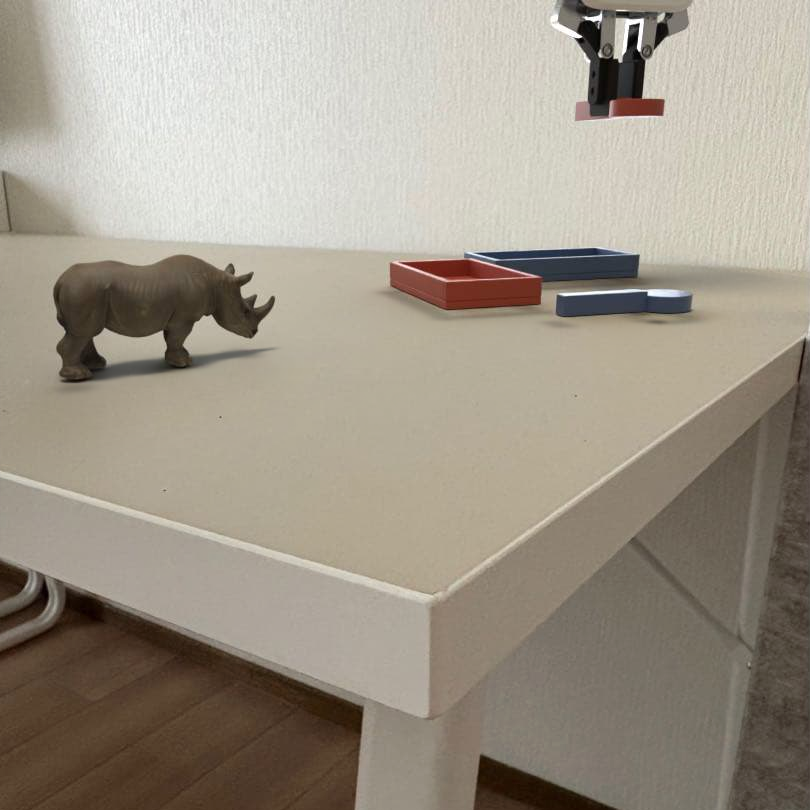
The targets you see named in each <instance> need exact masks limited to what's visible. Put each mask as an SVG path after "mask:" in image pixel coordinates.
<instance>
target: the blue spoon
mask: <svg viewBox="0 0 810 810" xmlns="http://www.w3.org/2000/svg"><path fill="white" fill-rule="evenodd" d="M693 295H694V294H693V293H692V292H690V291H686V290H679V289H667V288H666V289H665V288H664V289H662V288H660V289H659V288H657V289H656V288H655V289H654V288H653V289H652V288H651V289H639V288H635V289H633V288H631V289H617V290H599V291H598V290H597V291H582V292H581V291H580V292H563V293H562V292H561V293H556V299H555V300H556V301H555V315H558V316H561V317H566V318H567V317H581V316H595V315H598V316H599V315H611V314H627V313H641V312H642V313H643V312H645V313H646V312H647V313H655V314H681V313H687V312H690V311H692V304H693Z"/></svg>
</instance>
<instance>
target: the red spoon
mask: <svg viewBox="0 0 810 810" xmlns="http://www.w3.org/2000/svg"><path fill="white" fill-rule="evenodd" d="M665 103H666V100H665V98H642V99H632V98H627V97H617V100H611V101H610V108H609V116H597V117H594V116H590V113H589V111H590V105H589V103H588V100H584V101H576V102H575V107H574V108H575V111H574V122H598V121H611V120H612V121H613V120H622V119H623V120H624V119H625V120H626V119H649V118H651V119H652V118H663V117H664V113H665Z"/></svg>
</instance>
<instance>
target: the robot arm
mask: <svg viewBox="0 0 810 810" xmlns="http://www.w3.org/2000/svg"><path fill="white" fill-rule="evenodd" d="M693 2H694V0H556V2H555V5H554V8H553V11H552V14H551V17H550V24H551V26H552V27H553V28H554V29H556V30H559V31H561V32H563V33H565V34H567V35H569V36H572V37H573V39H574V40H575V42H576V43H577V45H578V46H579V47H580V48H581V50H582V51H583V57H584V59H585V61H586V62H587V63H589V71H588V84H587V85H588V87H587V101H588V103H589V105H590V111H589V113H590V116H594V117H597V116H609V108H610V101H611V100H617V97H627V98H632V99H643V94H644V85H645V84H644V83H645V73H646V61H648V60H650V59H652V57H653V55H654V51H655V50H656V49H657V48H658V47H659V46H660V44H661V43H662V42H663V41H664V40H665V39H666V38H668V37H671V36H674V35H676V34H678V33H681V32H683V31H686V29H687V28H689V24H690V20H689V13H688V8H690V6H691V5H692V4H693ZM663 14H664V16H663V18H662V19H661V20H660V21H658V19H659V17H660V16H661V15H663ZM617 19H622V20H623V19H624V20H625V19H626V22H625V30H624V39H623V47H622V57H621V62H620V61H619V58H615V47H616V46H615V44H616V43H615V42H616V25H617V24H616V20H617Z"/></svg>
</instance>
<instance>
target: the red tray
mask: <svg viewBox="0 0 810 810" xmlns="http://www.w3.org/2000/svg"><path fill="white" fill-rule="evenodd" d="M389 285H390V286H392V287H394V288H395V289H398V290H400V291H402V292H405V293H408V294H410V295H412V296H414V297H416V298H419V299H421V300H423V301H426V302H427V303H430V304H433V305H435V306H437V307H440V308H442V309H444V310H458V309H459V310H463V309H464V310H465V309H479V308H495V307H515V306H530V305H532V306H533V305H541V304H542V293H543V292H542V290H543V282H542V277H539V276H535V275H532V274H528V273H524V272H520V271H517V270H513V269H509V268H506V267H502V266H498V265H494V264H491V263H487V262H483V261H479V260H476V259H472V258H470V259H464V258H451V259H450V258H449V259H448V258H447V259H427V260H425V259H423V260H422V259H421V260H405V261H404V260H401V261H399V260H398V261H390V262H389Z"/></svg>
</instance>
